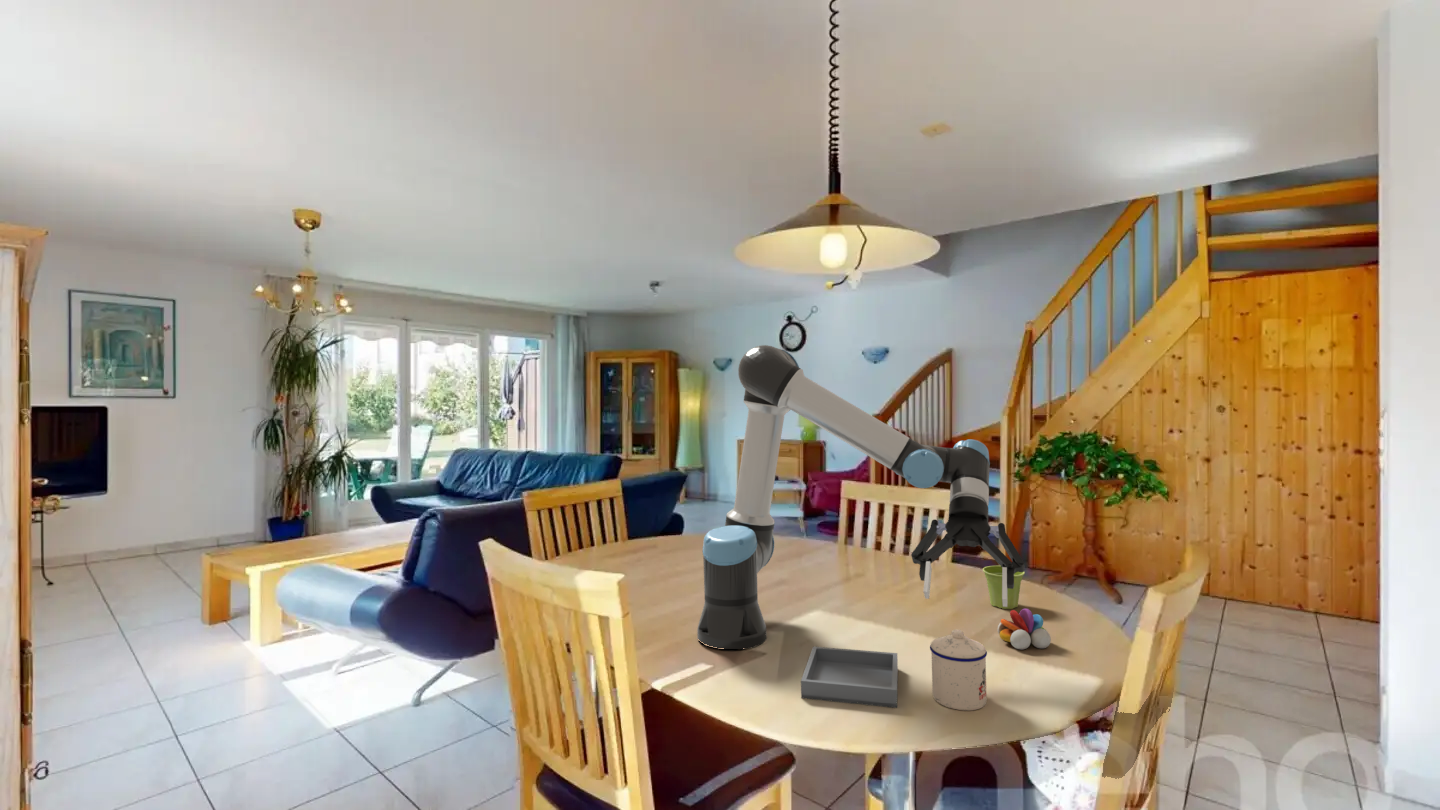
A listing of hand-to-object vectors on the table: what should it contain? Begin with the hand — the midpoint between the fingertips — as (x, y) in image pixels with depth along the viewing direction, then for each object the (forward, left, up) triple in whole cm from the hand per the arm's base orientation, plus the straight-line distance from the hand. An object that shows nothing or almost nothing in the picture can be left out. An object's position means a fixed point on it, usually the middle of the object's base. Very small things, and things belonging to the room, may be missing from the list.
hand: (964, 599), depth 118 cm
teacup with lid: (-2, -9, -14) cm, 17 cm away
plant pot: (+13, +44, -14) cm, 48 cm away
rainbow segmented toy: (+13, +19, -14) cm, 27 cm away
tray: (-20, -8, -14) cm, 26 cm away
